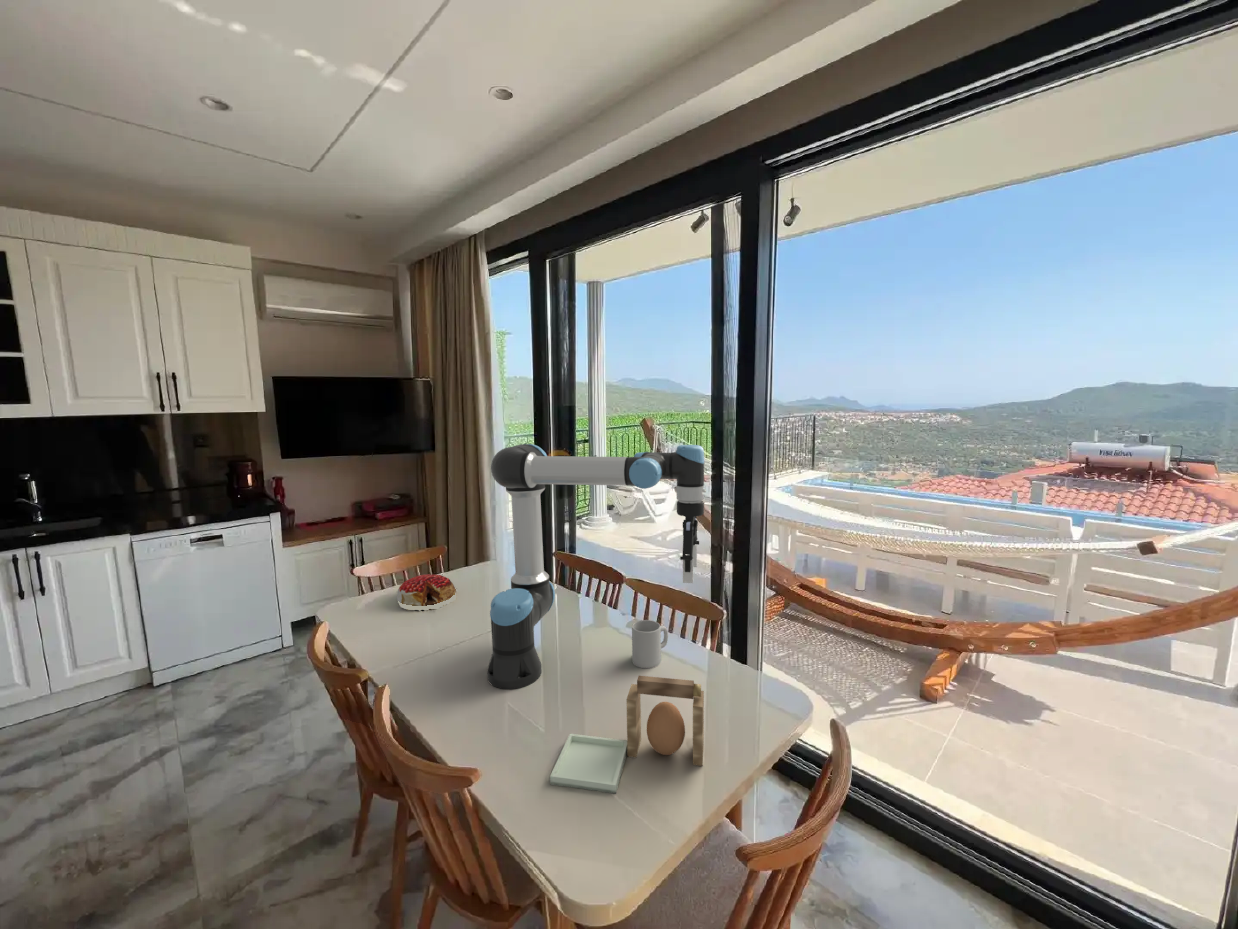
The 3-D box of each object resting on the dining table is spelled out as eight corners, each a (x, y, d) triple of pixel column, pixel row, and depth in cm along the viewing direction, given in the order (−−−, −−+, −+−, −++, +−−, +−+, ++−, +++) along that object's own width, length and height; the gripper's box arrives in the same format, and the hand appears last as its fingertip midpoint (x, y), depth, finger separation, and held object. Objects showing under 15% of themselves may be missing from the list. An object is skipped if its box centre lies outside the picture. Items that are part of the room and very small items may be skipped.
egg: (691, 760, 107) (691, 711, 106) (654, 769, 105) (654, 718, 104) (676, 736, 115) (675, 690, 114) (641, 743, 113) (641, 696, 112)
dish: (550, 784, 101) (550, 776, 101) (570, 741, 114) (570, 733, 114) (615, 793, 99) (615, 785, 98) (628, 748, 112) (628, 740, 111)
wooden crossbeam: (637, 694, 109) (636, 681, 108) (638, 688, 111) (638, 675, 111) (700, 700, 106) (700, 687, 106) (701, 694, 108) (701, 680, 108)
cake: (424, 619, 183) (423, 592, 181) (385, 605, 196) (383, 580, 195) (474, 598, 202) (473, 574, 201) (435, 587, 215) (434, 564, 214)
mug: (643, 672, 143) (642, 635, 142) (626, 659, 150) (626, 624, 149) (676, 659, 150) (676, 624, 149) (658, 648, 157) (658, 614, 156)
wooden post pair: (627, 756, 109) (626, 699, 107) (632, 738, 115) (631, 684, 113) (702, 766, 106) (702, 707, 104) (703, 747, 112) (703, 690, 110)
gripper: (700, 510, 128) (700, 591, 130) (706, 493, 152) (706, 561, 154) (671, 509, 129) (671, 589, 132) (681, 492, 153) (681, 560, 156)
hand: (690, 574), depth 143 cm, fingers open, 13 cm apart
